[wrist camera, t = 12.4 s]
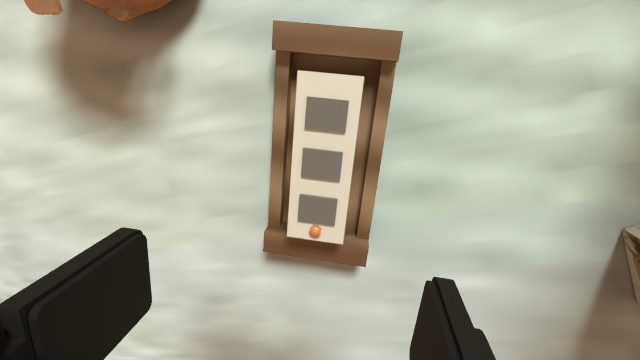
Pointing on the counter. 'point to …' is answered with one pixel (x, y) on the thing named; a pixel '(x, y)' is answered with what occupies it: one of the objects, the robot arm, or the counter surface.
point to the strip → (323, 154)
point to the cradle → (378, 70)
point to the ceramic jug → (101, 7)
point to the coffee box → (633, 255)
